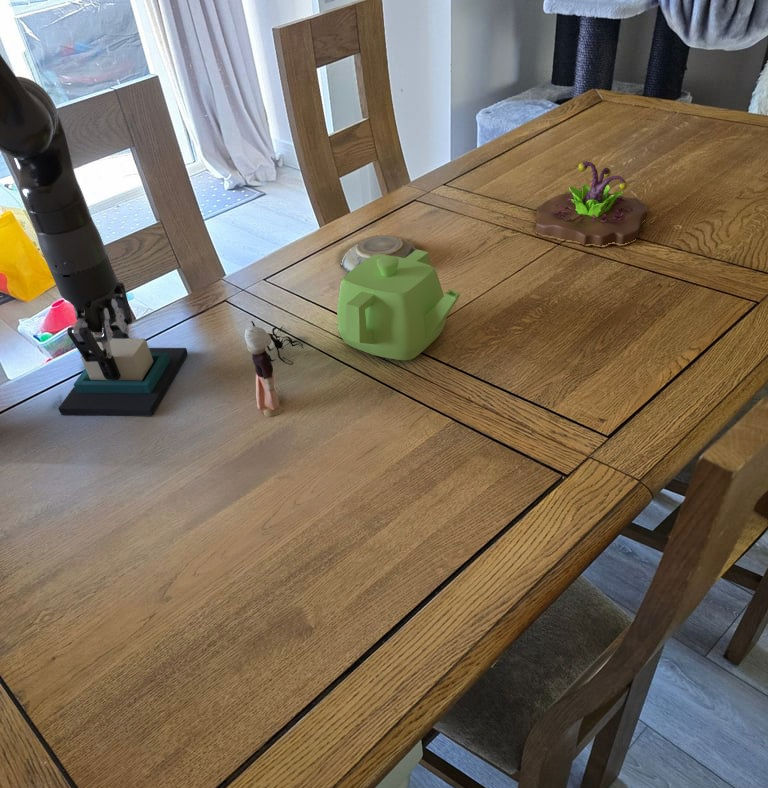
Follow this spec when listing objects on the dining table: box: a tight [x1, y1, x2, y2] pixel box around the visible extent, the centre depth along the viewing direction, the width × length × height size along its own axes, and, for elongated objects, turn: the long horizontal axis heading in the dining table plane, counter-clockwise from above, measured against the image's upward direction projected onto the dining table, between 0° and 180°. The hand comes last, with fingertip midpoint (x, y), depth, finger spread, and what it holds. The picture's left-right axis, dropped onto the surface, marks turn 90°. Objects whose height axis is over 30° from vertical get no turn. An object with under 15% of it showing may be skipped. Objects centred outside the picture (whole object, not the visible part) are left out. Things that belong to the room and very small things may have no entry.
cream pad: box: [80, 338, 154, 381], centre depth 102 cm, size 8×5×4 cm, turn 83°
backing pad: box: [57, 347, 189, 417], centre depth 104 cm, size 14×16×3 cm
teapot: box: [336, 249, 461, 361], centre depth 102 cm, size 18×20×13 cm
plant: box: [534, 160, 649, 246], centre depth 128 cm, size 20×20×11 cm
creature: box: [250, 320, 304, 366], centre depth 106 cm, size 8×5×8 cm
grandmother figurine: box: [244, 325, 284, 418], centre depth 93 cm, size 8×4×13 cm, turn 27°
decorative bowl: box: [340, 234, 417, 273], centre depth 125 cm, size 15×4×15 cm
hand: (120, 367), depth 103 cm, fingers closed on cream pad, 5 cm apart
